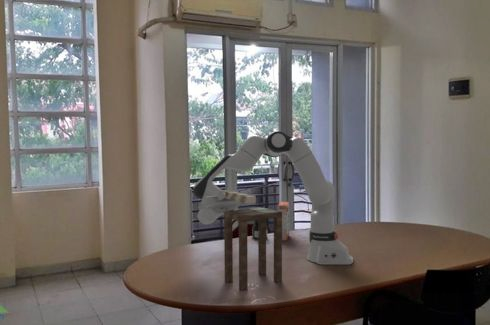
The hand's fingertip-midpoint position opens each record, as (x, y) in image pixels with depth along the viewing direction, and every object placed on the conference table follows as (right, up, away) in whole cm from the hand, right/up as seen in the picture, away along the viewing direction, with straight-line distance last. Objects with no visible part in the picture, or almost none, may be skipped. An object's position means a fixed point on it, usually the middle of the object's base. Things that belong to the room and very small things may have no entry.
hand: (230, 194), depth 199 cm
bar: (+3, -2, -5) cm, 6 cm away
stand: (+10, -37, -4) cm, 38 cm away
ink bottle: (+15, -31, +74) cm, 82 cm away
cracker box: (+29, -31, +73) cm, 84 cm away
